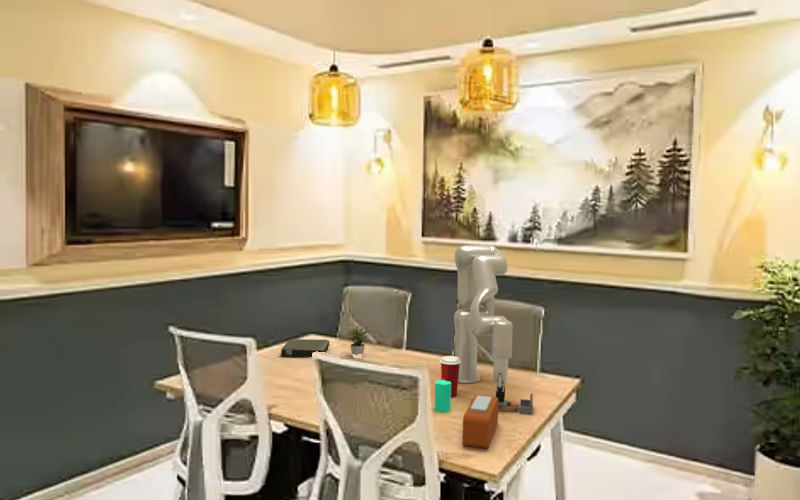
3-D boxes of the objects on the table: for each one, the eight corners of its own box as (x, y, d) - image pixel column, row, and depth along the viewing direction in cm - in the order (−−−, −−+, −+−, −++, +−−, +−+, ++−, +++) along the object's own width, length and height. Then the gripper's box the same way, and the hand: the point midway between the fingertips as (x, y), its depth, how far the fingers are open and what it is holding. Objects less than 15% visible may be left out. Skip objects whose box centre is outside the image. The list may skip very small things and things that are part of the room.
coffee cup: (461, 392, 248) (462, 356, 247) (456, 398, 240) (457, 361, 239) (442, 390, 251) (442, 354, 249) (436, 396, 243) (437, 359, 241)
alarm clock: (474, 421, 217) (475, 390, 216) (497, 423, 215) (498, 392, 214) (461, 447, 194) (462, 412, 193) (487, 450, 192) (488, 416, 191)
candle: (445, 413, 224) (446, 381, 223) (431, 410, 227) (432, 378, 226) (453, 408, 229) (454, 377, 228) (439, 405, 232) (440, 375, 231)
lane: (472, 408, 230) (472, 404, 229) (474, 401, 237) (474, 397, 237) (518, 412, 226) (518, 408, 226) (518, 405, 233) (519, 401, 233)
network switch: (284, 347, 317) (284, 338, 317) (329, 347, 320) (329, 338, 319) (280, 360, 294) (280, 349, 293) (328, 359, 296) (329, 349, 296)
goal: (519, 413, 225) (519, 400, 224) (520, 405, 234) (520, 392, 233) (532, 414, 224) (532, 401, 223) (532, 406, 233) (532, 393, 232)
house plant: (371, 362, 291) (371, 328, 290) (342, 361, 291) (343, 328, 290) (373, 354, 305) (373, 322, 304) (345, 353, 306) (346, 322, 304)
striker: (492, 408, 229) (493, 384, 229) (493, 404, 234) (494, 380, 233) (506, 409, 228) (507, 385, 227) (506, 405, 233) (507, 381, 232)
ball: (509, 409, 228) (510, 401, 228) (510, 406, 232) (510, 398, 231) (518, 410, 228) (519, 402, 227) (519, 407, 231) (519, 399, 231)
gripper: (493, 346, 238) (491, 391, 240) (490, 357, 222) (488, 406, 223) (512, 348, 236) (511, 393, 238) (510, 359, 220) (509, 407, 222)
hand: (500, 399), depth 231 cm, fingers open, 4 cm apart
